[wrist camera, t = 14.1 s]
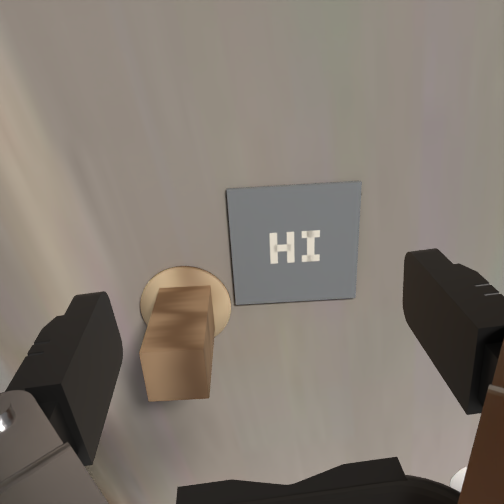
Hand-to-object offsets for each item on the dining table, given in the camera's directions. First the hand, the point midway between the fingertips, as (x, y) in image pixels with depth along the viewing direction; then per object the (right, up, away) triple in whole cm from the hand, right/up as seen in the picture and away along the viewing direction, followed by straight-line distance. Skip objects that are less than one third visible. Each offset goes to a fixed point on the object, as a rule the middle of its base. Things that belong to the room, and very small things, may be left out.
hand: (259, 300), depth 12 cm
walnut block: (-7, -4, +33) cm, 34 cm away
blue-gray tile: (+4, +2, +31) cm, 31 cm away
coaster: (-7, -4, +34) cm, 35 cm away
